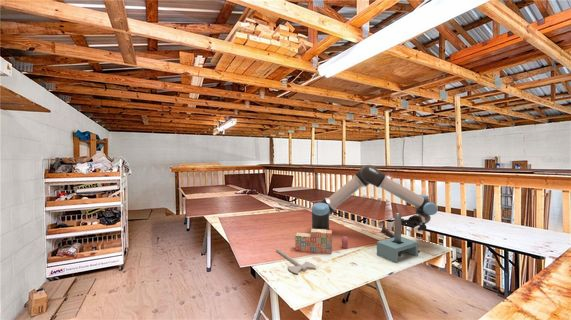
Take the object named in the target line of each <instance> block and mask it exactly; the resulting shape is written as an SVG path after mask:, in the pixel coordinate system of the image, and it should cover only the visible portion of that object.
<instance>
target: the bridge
mask: <svg viewBox="0 0 571 320" xmlns="http://www.w3.org/2000/svg"><path fill="white" fill-rule="evenodd" d="M418 250H419V242H418V241H416V240H413V239H410V238H406V237H403V236H401V244H397V243H394V237H393V238H392V237H390V238H385V239H382V240H379V241H376V255H377V256H379V257H380V258H383V259H385V260H388V261H389V262H392V263H398V262H399V256H398V252H399V251H401V252H404V253H407V254H410V255H412V256H416V257H417V256H418V255H419V252H418Z"/></svg>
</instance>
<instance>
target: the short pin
mask: <svg viewBox="0 0 571 320" xmlns="http://www.w3.org/2000/svg"><path fill="white" fill-rule="evenodd" d="M348 241H349V237H348V236H346V235H343V236H341V248H342V249H348V248H349V247H348V245H349V242H348Z"/></svg>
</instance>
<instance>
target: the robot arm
mask: <svg viewBox="0 0 571 320" xmlns="http://www.w3.org/2000/svg"><path fill="white" fill-rule="evenodd" d="M369 185H373V186H374V187H376V188H381V189H383V190H385V191H386V192H388V193H390V194H392V195H393V196H394V197H396V198H399V199H401V200H402V201H404V202H406V203H408V204H410V205H411V206H413V207H415V214H414V215H412V216H411V215H410V216H409V217H408V219H405V218H402V217H401V226H410V227H411V228H413V233H414V234H416V233H418V232H421V231H425V232H427V224H428V223H429V222H430V221H431V219H432V217H431V216H433V215H436V214H437V212H438V209H439V208H438V206H437V205H436V204H435V203H434V202H432V201H430V198H429V197H430V196H429V195H427V194H418V193H416V192H414V191H412V190H411V189H410V188H409V189H408V188H407V187H406V186H404V185H402V184H399V183H398V182H396V181H394V180H392V179H390V178H389V177H387V175H386V174H385V173H384V172H382V171H380V170H379V169H377V168H376V167H375V166H374V165H372V164H365V165H363V166H362V167H361V168H360V169H359V170H358V171H356V172H355V173H354V176H353V178H352V179H350V180H349V181H347V182H346V183H345V184H344V185H342V186H341V187H340V188H339V189H338V190H336V191H335V192H333V194H331V195H330V196H329V197H324V198H323V199H322V200H321V201H318V202H316V203H313V204H312V205H311V229H321V230H322V229H325V230H331V229H330V215H331V214H333V213H334V212H335V211H337V210H336V209H337V207H339V206H340V205H341V204H342V203H343V202H345V201H346V200H347V199H349V198H350V197H352V195H354V194H355V193H356V192H357V191H359V190H360V189H361V188H364V187H365V188H366V187H367V186H369ZM389 224H390V228H394V219H391V220H390V223H389ZM309 234H311V231H310V232H309Z"/></svg>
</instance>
